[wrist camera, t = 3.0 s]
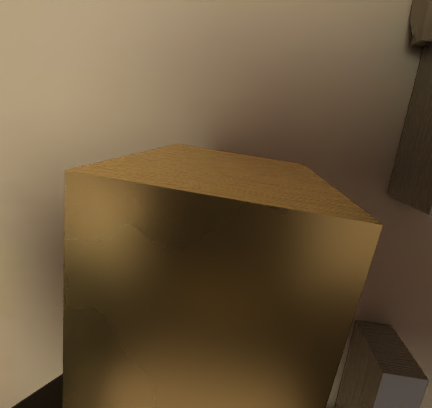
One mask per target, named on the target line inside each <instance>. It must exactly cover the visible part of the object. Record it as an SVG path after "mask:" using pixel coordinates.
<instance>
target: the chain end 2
mask: <svg viewBox="0 0 432 408" xmlns="http://www.w3.org/2000/svg"><path fill="white" fill-rule="evenodd" d="M410 25H411V31H412V38H411V42H410V46H415V47H423V52H422V56H421V60H420V64H419V68H418V72H417V76H416V80H415V84H414V88H413V92H412V96H411V100H410V104H409V108H408V112H407V116H406V120H405V124H404V128H403V133H402V137H401V141H400V145H399V149H398V153H397V157H396V161H395V165H394V169H393V173H392V177H391V181H390V185H389V189H388V193H387V194H389V195H391V196H393V197H395V198H396V199H398V200H400V201H402V202H404V203H406V204H408V205H410V206H412V207H414V208H416V209H418V210H420V211H422V212H424V213H426V214H428V215H431V216H432V0H413V2H412V8H411V17H410Z"/></svg>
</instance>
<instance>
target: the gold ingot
mask: <svg viewBox="0 0 432 408" xmlns="http://www.w3.org/2000/svg"><path fill="white" fill-rule="evenodd" d="M382 227H383V225H382V224H381V223H380V222H378V221H377V220H376V219H374V218H373V217H372V216H370V215H369V214H368V213H367V212H365V211H364V210H363V209H361V208H360V207H359V206H357V205H356V204H355V203H353V202H352V201H351V200H349V199H348V198H347V197H346V196H344V195H343V194H342V193H340V192H339V191H338V190H336V189H335V188H334V187H332V186H331V185H330V184H329V183H327V182H326V181H325V180H323V179H322V178H321V177H319V176H318V175H317V174H315V173H314V172H313V171H312V170H310V169H309V168H308V167H306V166H305V165H304V164H299V163H293V162H287V161H280V160H274V159H268V158H262V157H255V156H249V155H243V154H237V153H231V152H224V151H218V150H212V149H206V148H199V147H193V146H187V145H181V144H175V145H170V146H166V147H162V148H158V149H153V150H149V151H145V152H141V153H136V154H132V155H128V156H123V157H119V158H115V159H111V160H106V161H102V162H98V163H94V164H89V165H85V166H81V167H77V168H72V169H68V170H65V214H64V317H63V408H325V407H326V404H327V401H328V398H329V395H330V392H331V388H332V385H333V382H334V379H335V376H336V373H337V369H338V366H339V363H340V360H341V357H342V354H343V350H344V347H345V344H346V341H347V338H348V335H349V331H350V328H351V325H352V322H353V319H354V316H355V312H356V309H357V306H358V303H359V300H360V297H361V293H362V290H363V287H364V284H365V281H366V278H367V274H368V271H369V268H370V265H371V262H372V259H373V255H374V252H375V249H376V246H377V243H378V240H379V236H380V233H381V230H382Z"/></svg>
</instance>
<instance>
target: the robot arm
mask: <svg viewBox="0 0 432 408" xmlns="http://www.w3.org/2000/svg"><path fill="white" fill-rule="evenodd" d="M12 408H63V374H61V375H60V376H58V377H57V378H55V379H54V380H52V381H51V382H49V383H48V384H46V385H45V386H43V387H42V388H40V389H39V390H37V391H36V392H34V393H33V394H31V395H30V396H28V397H27V398H25V399H24V400H22V401H21V402H19V403H18V404H16V405H15V406H13V407H12Z"/></svg>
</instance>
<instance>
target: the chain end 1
mask: <svg viewBox="0 0 432 408" xmlns="http://www.w3.org/2000/svg"><path fill="white" fill-rule="evenodd" d="M428 381H429V380H428V378H427V377H426V376H425V374H424V373H423V371H422V370H421V368H420V367H419V365H418V364H417V362H416V361H415V359H414V358H413V357H412V355H411V354H410V352H409V351H408V349H407V348H406V346H405V345H404V343H403V342H402V340H401V339H400V338H399V336H398V335H397V333H396V332H395V330H394V329H393V327H392V326H388V325H381V324H375V323H368V322H361V321H356V323H355V327H354V331H353V335H352V339H351V343H350V347H349V351H348V355H347V359H346V363H345V367H344V371H343V376H342V380H341V384H340V388H339V392H338V396H337V400H336V404H335V408H420V405H421V402H422V399H423V396H424V393H425V390H426V387H427V384H428Z"/></svg>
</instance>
